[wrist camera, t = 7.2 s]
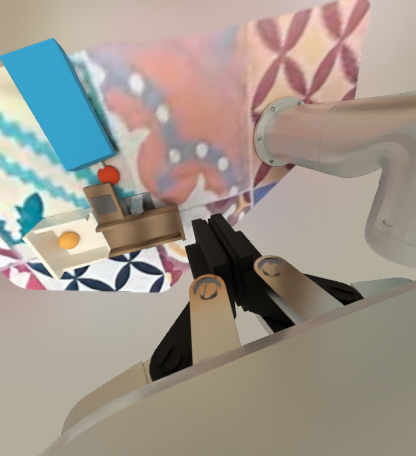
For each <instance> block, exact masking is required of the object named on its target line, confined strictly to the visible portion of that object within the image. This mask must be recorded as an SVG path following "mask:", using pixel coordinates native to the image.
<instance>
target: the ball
mask: <svg viewBox="0 0 416 456" xmlns="http://www.w3.org/2000/svg"><path fill="white" fill-rule="evenodd" d="M78 243H79V239H78V237H77V235H75V234H74V233H70V232H68V233H64V234H62V235H61V236H60V237H59V238H58V244H59V246H60V247H61V248H63V249H73V248H75V247H76V246H77V245H78Z"/></svg>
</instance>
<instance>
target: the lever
mask: <svg viewBox="0 0 416 456" xmlns="http://www.w3.org/2000/svg"><path fill="white" fill-rule="evenodd" d="M0 59H1V61H2V62H3V64H4V66H5V68H6V69H7V71H8V73H9V74H10V76H11V78H12V79H13V81H14V83H15V85H16V86H17V88H18V90H19V91H20V93H21V95H22V96H23V98H24V100H25V101H26V103H27V105H28V106H29V108H30V110H31V111H32V113H33V115H34V116H35V118H36V120H37V121H38V123H39V125H40V127H41V128H42V130H43V132H44V133H45V135H46V137H47V138H48V140H49V142H50V143H51V145H52V147H53V148H54V150H55V152H56V153H57V155H58V157H59V158H60V160H61V162H62V163H63V165H64V167H65V169H66V170H67V171H78V170H80V169H83V168H85V167H88V166H90V165H93V164H96V163H97V164H98V165H99V167H100V169H99V171H98V178H99V180H100V182H101V183H107V182H111V185H115V184H117V182H118V181H119V178H120V177H119V173H118V171H117V170H116V169H115V168H114V167H112V166H105V165H104V164H103V162H102V161H103V160H106V159H108V158H111V157H113V156H116V155H117V154H116V152H115V150H114V148H113V146H112V144H111V142H110V140H109V138H108V136H107V134H106V132H105V130H104V128H103V126H102V125H101V123H100V121H99V119H98V117H97V115H96V113H95V111H94V109H93V107H92V105H91V103H90V101H89V99H88V97H87V95H86V93H85V91H84V89H83V87H82V85H81V83H80V81H79V79H78V77H77V75H76V73H75V71H74V69H73V67H72V65H71V63H70V61H69V59H68V57H67V56H66V53H65V51H64V50H63V49H62V48H61V46H60V45H59V44H58V43H57V42H56V40H55V39H54V38H51V39H48V40H45V41H42V42H39V43H37V44H34V45H31V46H28V47H25V48H22V49H19V50H16V51H13V52H10V53H8V54H4V55H1V56H0Z"/></svg>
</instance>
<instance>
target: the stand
mask: <svg viewBox="0 0 416 456" xmlns="http://www.w3.org/2000/svg"><path fill="white" fill-rule="evenodd" d="M123 199H124V202H125V204H126V207H127V209H128V211H129V214H130V215H135V214H139V213H143V212H145V211H149V210H154V209H155V208H154V205H153V202H152V199H151V196H150V193H149V192H146V193H141V194H137V195H133V196H128V197H124V198H123ZM153 247H155V246H153ZM149 248H151V247H149ZM146 249H148V248H146Z"/></svg>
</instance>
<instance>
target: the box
mask: <svg viewBox="0 0 416 456" xmlns="http://www.w3.org/2000/svg"><path fill="white" fill-rule="evenodd" d="M98 224H99V220H98V218H97V216H96V214H95V212H94V210H93V208H92V207H90V208H86V209H82V210H77V211H73V212H69V213H65V214H60V215H56V216H52V217H48V218H43V219H42V220H41V221H40V222H39V223H38V224H37V225H36V226H35V227H34V228H33V229H32V230H30V231H29V232H28V233H27V234H26V235H25V236H24V237H23V238H22V239H23V240H24V241H25V243H26V244H27V245H28V246H29V247H30V249H31V250H32V251H33V252H34V254H35V255H36V256H37V257H38V259H39V260H40V261H41V262H42V263H43V265H44V266H45V267H46V268H47V270H48V271H49V272H50V273H51V275H52V276H53V277H54V278H55V279H56V280H59V279H60V278H61V276H62V275H63V273H64V272H65V271H69V270H72V269H76V268H80V267H83V266H87V265H90V264H94V263H97V262H101V261H105V260H108V259H109V253H110V250H111V249H110V247H109V245H108V243H107V241H106V239H105V237H104V235H103V234H102V232H98V233H96V231H95V229H96V227H97V225H98ZM68 232H70V233H74V234H75V235H77V237H78V239H79V243H78V245H77V246H76V247H75V248H73V249H63V248H61V247H60V246H59V244H58V238H59V237H60V236H61V235H62V234H64V233H68Z"/></svg>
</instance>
